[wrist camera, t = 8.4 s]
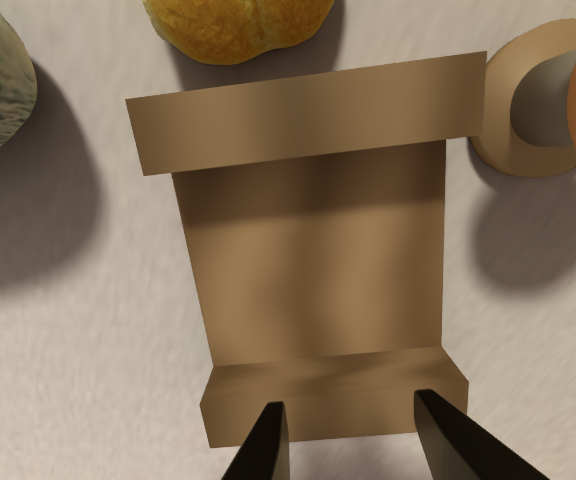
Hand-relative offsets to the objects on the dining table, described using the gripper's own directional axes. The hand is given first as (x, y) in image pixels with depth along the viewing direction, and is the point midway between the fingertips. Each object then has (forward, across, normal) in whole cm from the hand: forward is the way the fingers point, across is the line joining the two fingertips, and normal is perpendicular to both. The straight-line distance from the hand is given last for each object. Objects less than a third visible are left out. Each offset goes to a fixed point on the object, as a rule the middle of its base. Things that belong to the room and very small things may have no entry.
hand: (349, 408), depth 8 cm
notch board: (+11, 0, 0) cm, 11 cm away
